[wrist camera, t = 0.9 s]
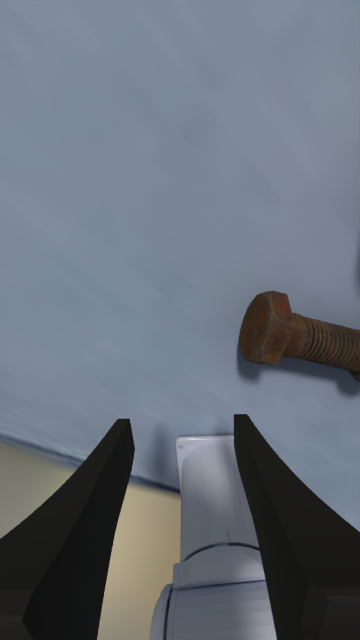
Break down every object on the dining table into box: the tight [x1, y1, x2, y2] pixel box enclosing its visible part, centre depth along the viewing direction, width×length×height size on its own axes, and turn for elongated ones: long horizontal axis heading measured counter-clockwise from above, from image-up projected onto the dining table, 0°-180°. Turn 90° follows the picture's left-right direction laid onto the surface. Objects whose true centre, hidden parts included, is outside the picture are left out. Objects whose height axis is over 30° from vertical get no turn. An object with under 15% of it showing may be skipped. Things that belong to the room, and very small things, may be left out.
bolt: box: [239, 291, 360, 381], centre depth 18 cm, size 6×5×15 cm
